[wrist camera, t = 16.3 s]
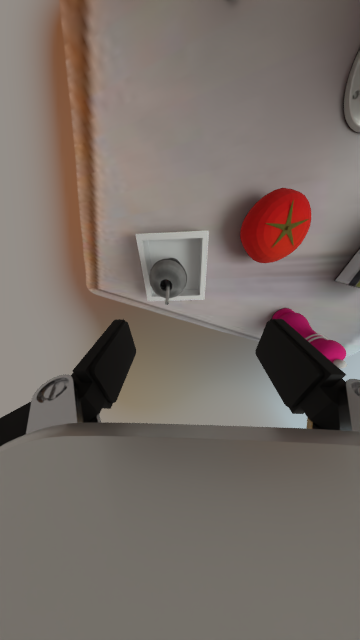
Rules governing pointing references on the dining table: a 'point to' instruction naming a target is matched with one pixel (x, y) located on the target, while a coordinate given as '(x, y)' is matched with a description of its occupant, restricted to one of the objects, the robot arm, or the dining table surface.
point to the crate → (183, 248)
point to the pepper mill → (313, 336)
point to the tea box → (351, 272)
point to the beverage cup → (168, 278)
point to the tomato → (276, 225)
